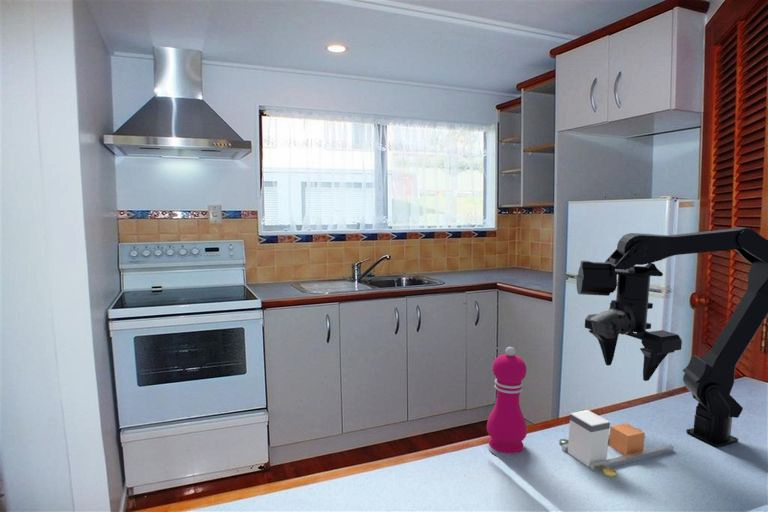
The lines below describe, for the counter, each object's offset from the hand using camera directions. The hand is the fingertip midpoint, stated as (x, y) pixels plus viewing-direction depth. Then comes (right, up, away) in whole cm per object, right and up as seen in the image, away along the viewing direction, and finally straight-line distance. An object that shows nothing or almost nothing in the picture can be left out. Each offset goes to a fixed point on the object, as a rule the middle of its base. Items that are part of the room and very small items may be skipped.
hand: (626, 372), depth 100 cm
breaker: (-13, -12, -12) cm, 22 cm away
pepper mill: (-26, -13, -8) cm, 31 cm away
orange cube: (-5, -12, -9) cm, 16 cm away
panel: (-6, -13, -10) cm, 18 cm away
